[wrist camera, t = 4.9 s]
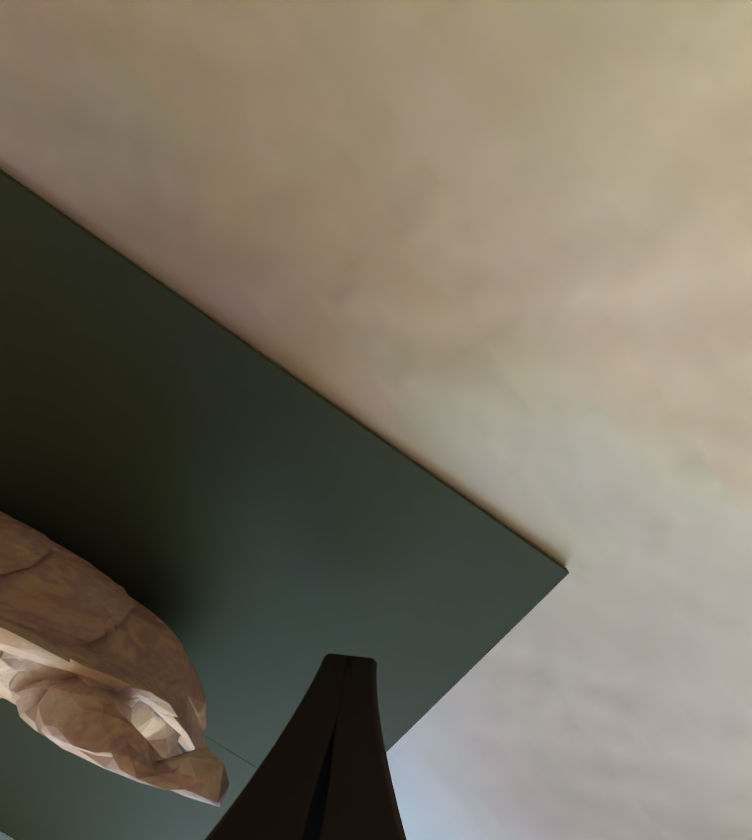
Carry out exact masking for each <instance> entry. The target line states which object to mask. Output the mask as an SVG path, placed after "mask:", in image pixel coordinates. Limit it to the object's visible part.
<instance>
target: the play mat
mask: <svg viewBox="0 0 752 840" xmlns="http://www.w3.org/2000/svg"><path fill="white" fill-rule="evenodd" d="M0 511H1V512H3V513H5V514H7V515H9V516H10V517H12V518H14V519H16V520H18V521H20V522H22V523H24V524H26V525H28V526H30V527H32V528H34V529H35V530H37V531H39V532H41V533H42V534H44V535H46V536H47V537H48V538H49V539H50V540H51V541H53V542H55V543H57V544H59V545H61V546H63V547H64V548H66V549H68V550H69V551H71V552H73V553H74V554H76V555H78V556H79V557H81V558H83V559H84V560H86V561H88V562H89V563H90V564H92V565H93V566H94V567H95V568H97V569H98V570H99V571H101V572H102V573H104V574H105V575H107V576H108V577H109V578H111V579H112V580H113V581H114V582H115V583H116V584H118V585H120V586H122V587H123V588H124V589H125V591H126V593H127V594H128V596H130V597H131V598H133V599H134V600H136V601H137V602H138V603H140V604H141V605H143V606H144V607H146V608H147V609H149V610H150V611H151V612H153V613H154V614H155V615H156V616H157V617H159V618H160V619H161V620H162V621H163V622H164V623H165V624H166V625H167V626H168V627H169V628H170V629H171V630H172V631H173V632H174V633H175V635H176V636H177V638H178V639H179V641H180V642H181V643H182V645H183V647H184V650H185V652H186V654H187V656H188V658H189V659H190V660H191V662H192V663H193V665H194V666H195V669H196V672H197V674H198V677H199V680H200V683H201V685H202V688H203V691H204V694H205V696H206V727H205V729H204V735H205V739H206V743H207V748H208V749H209V750H211V751H212V752H213V753H214V754H215V755H216V756H217V757H218V758H219V759H220V760H221V761H222V762H223V763H224V766H225V770H226V773H227V776H228V780H229V783H230V785H229V788H228V790H227V793H226V795H225V798H224V800H223V802H222V805H221V807H219V806H215V805H212V804H208V803H205V802H201V801H198V800H195V799H191V798H188V797H186V796H183V795H181V794H178V793H176V792H173V791H171V790H164V789H160V788H157V787H153V786H150V785H146V784H143V783H140V782H137V781H135V780H132V779H129V778H127V777H125V776H122V775H120V774H117V773H114V772H112V771H109V770H107V769H104V768H102V767H100V766H98V765H96V764H94V763H92V762H90V761H88V760H86V759H84V758H81V757H79V756H77V755H75V754H73V753H71V752H69V751H66V750H64V749H62V748H61V747H59V746H58V745H57V744H55V743H54V742H53V741H51V740H50V739H49V738H47V737H45V736H44V735H42V734H40V733H39V732H37V731H35V730H34V729H33V728H32V727H31V726H30V725H28V724H27V723H26V722H25V721H24V720H23V719H22V718H21V717H20V716H19V712H18V709H17V706H16V705H15V704H13V703H12V702H10V701H9V700H7V699H4V698H1V699H0V831H1V832H3V833H5V834H6V835H8V836H10V837H12V838H13V839H15V840H205V839H206V837H207V836H208V835H209V833H210V832H211V831H212V830H213V828H214V827H215V826H216V825H217V823H218V822H219V821H220V820H221V818H222V817H223V816H224V814H225V813H226V812H227V810H228V809H229V808H230V807H231V805H232V804H233V803H234V801H235V800H236V799H237V797H238V796H239V794H240V793H241V792H242V790H243V789H244V788H245V786H246V785H247V784H248V782H249V781H250V779H251V778H252V776H253V775H254V774H255V772H256V771H257V769H258V768H259V766H260V765H261V763H262V762H263V761H264V759H265V758H266V756H267V755H268V753H269V752H270V750H271V749H272V748H273V746H274V744H275V743H276V741H277V740H278V738H279V737H280V735H281V734H282V732H283V730H284V729H285V727H286V726H287V724H288V722H289V721H290V719H291V718H292V716H293V714H294V713H295V711H296V709H297V708H298V706H299V704H300V703H301V701H302V699H303V697H304V696H305V694H306V692H307V690H308V689H309V687H310V685H311V683H312V681H313V679H314V677H315V675H316V673H317V671H318V669H319V667H320V665H321V663H322V661H323V659H324V657H325V656H326V655H327V654H329V653H331V654H340V655H349V656H359V657H368V658H373V659H374V660H375V661H376V662H377V678H376V681H377V697H378V706H379V715H380V722H381V728H382V734H383V740H384V745H385V751H386V752H387V751H388V750H389V749H390V748H391V747H392V746H393V745H394V744H395V743H396V742H397V741H398V740H399V739H400V738H401V737H402V736H403V735H404V734H405V733H406V732H407V731H408V730H409V729H410V728H411V727H412V726H413V725H414V724H415V723H416V722H417V721H418V720H419V719H420V718H422V717H423V716H424V715H425V714H426V713H427V712H428V711H429V710H430V709H431V708H432V707H433V706H434V705H435V704H436V703H437V702H438V701H439V700H440V699H441V698H442V697H443V696H444V695H445V694H446V693H447V692H448V691H449V690H450V689H451V688H452V687H453V686H454V685H455V684H456V683H457V682H458V681H459V680H460V679H461V678H462V677H463V676H464V675H465V674H466V673H467V672H468V671H469V670H470V669H472V668H473V667H474V666H475V665H476V664H477V663H478V662H479V661H480V660H481V659H482V658H483V657H484V656H485V655H486V654H487V653H488V652H489V651H490V650H491V649H492V648H493V647H494V646H495V645H496V644H497V643H498V642H499V641H500V640H501V639H502V638H503V637H504V636H505V635H506V634H507V633H508V632H509V631H510V630H511V629H512V628H513V627H514V626H515V625H516V624H517V623H518V622H519V621H520V620H522V619H523V618H524V617H525V616H526V615H527V614H528V613H529V612H530V611H531V610H532V609H533V608H534V607H535V606H536V605H537V604H538V603H539V602H540V601H541V600H542V599H543V598H544V597H545V596H546V595H547V594H548V593H549V592H550V591H551V590H552V589H553V588H554V587H555V586H556V585H557V584H558V583H559V582H560V581H561V580H562V579H563V578H564V577H565V576H566V575H567V574H568V573H569V572H568V570H567V569H566V568H565V567H564V566H562V565H561V564H559V563H558V562H557V561H555V560H554V559H552V558H551V557H549V556H548V555H547V554H545V553H544V552H542V551H541V550H539V549H538V548H537V547H535V546H534V545H532V544H531V543H530V542H528V541H527V540H525V539H524V538H522V537H521V536H520V535H518V534H517V533H515V532H514V531H513V530H511V529H510V528H508V527H507V526H505V525H504V524H503V523H501V522H500V521H498V520H497V519H496V518H494V517H493V516H491V515H490V514H488V513H487V512H486V511H484V510H483V509H481V508H480V507H479V506H477V505H476V504H474V503H473V502H471V501H470V500H469V499H467V498H466V497H464V496H463V495H461V494H460V493H459V492H457V491H456V490H454V489H453V488H452V487H450V486H449V485H447V484H446V483H444V482H443V481H442V480H440V479H439V478H437V477H436V476H435V475H433V474H432V473H430V472H429V471H427V470H426V469H425V468H423V467H422V466H420V465H419V464H418V463H416V462H415V461H413V460H412V459H410V458H409V457H408V456H406V455H405V454H403V453H402V452H401V451H399V450H398V449H396V448H395V447H393V446H392V445H391V444H389V443H388V442H386V441H385V440H384V439H382V438H381V437H379V436H378V435H376V434H375V433H374V432H372V431H371V430H369V429H368V428H366V427H365V426H364V425H362V424H361V423H359V422H358V421H357V420H355V419H354V418H352V417H351V416H349V415H348V414H347V413H345V412H344V411H342V410H341V409H340V408H338V407H337V406H335V405H334V404H332V403H331V402H330V401H328V400H327V399H325V398H324V397H323V396H321V395H320V394H318V393H317V392H315V391H314V390H313V389H311V388H310V387H308V386H307V385H306V384H304V383H303V382H301V381H300V380H298V379H297V378H296V377H294V376H293V375H291V374H290V373H288V372H287V371H286V370H284V369H283V368H281V367H280V366H279V365H277V364H276V363H274V362H273V361H271V360H270V359H269V358H267V357H266V356H264V355H263V354H262V353H260V352H259V351H257V350H256V349H254V348H253V347H252V346H250V345H249V344H247V343H246V342H245V341H243V340H242V339H240V338H239V337H237V336H236V335H235V334H233V333H232V332H230V331H229V330H228V329H226V328H225V327H223V326H222V325H220V324H219V323H218V322H216V321H215V320H213V319H212V318H210V317H209V316H208V315H206V314H205V313H203V312H202V311H201V310H199V309H198V308H196V307H195V306H193V305H192V304H191V303H189V302H188V301H186V300H185V299H184V298H182V297H181V296H179V295H178V294H176V293H175V292H174V291H172V290H171V289H169V288H168V287H167V286H165V285H164V284H162V283H161V282H159V281H158V280H157V279H155V278H154V277H152V276H151V275H150V274H148V273H147V272H145V271H144V270H142V269H141V268H140V267H138V266H137V265H135V264H134V263H132V262H131V261H130V260H128V259H127V258H125V257H124V256H123V255H121V254H120V253H118V252H117V251H115V250H114V249H113V248H111V247H110V246H108V245H107V244H106V243H104V242H103V241H101V240H100V239H98V238H97V237H96V236H94V235H93V234H91V233H90V232H89V231H87V230H86V229H84V228H83V227H81V226H80V225H79V224H77V223H76V222H74V221H73V220H72V219H70V218H69V217H67V216H66V215H64V214H63V213H62V212H60V211H59V210H57V209H56V208H54V207H53V206H52V205H50V204H49V203H47V202H46V201H45V200H43V199H42V198H40V197H39V196H37V195H36V194H35V193H33V192H32V191H30V190H29V189H28V188H26V187H25V186H23V185H22V184H20V183H19V182H18V181H16V180H15V179H13V178H12V177H11V176H9V175H8V174H6V173H5V172H3V171H2V170H1V169H0ZM177 745H178V747H179V748H180V750H181V751H182V753H185V752H187V751H186V750H185V749H184V748H183V747H182V746H181V745H180V744H179V742H178V744H177Z"/></svg>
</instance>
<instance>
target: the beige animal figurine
mask: <svg viewBox="0 0 752 840" xmlns="http://www.w3.org/2000/svg"><path fill="white" fill-rule="evenodd" d="M1 698H4V699H7V700H9V701H10V702H12V703H13V704H15V705H16V706H17V709H18V712H19V716H20V717H21V718H22V719H23V720H24V721H25V722H26V723H27V724H28V725H30V726H31V727H32V728H33V729H34V730H35V731H37V732H39V733H40V734H42V735H44V736H45V737H47V738H49V739H50V740H51V741H53V742H54V743H55V744H57V745H58V746H59V747H61V748H62V749H64V750H66V751H69V752H71V753H73V754H75V755H77V756H79V757H81V758H84V759H86V760H88V761H90V762H92V763H94V764H96V765H98V766H100V767H102V768H104V769H107V770H109V771H112V772H114V773H117V774H120V775H122V776H125V777H127V778H129V779H132V780H135V781H137V782H140V783H143V784H146V785H150V786H153V787H157V788H160V789H164V790H171V791H173V792H176V793H178V794H181V795H183V796H186V797H188V798H191V799H195V800H198V801H201V802H205V803H208V804H212V805H215V806H219V807H221V805H222V802H223V800H224V798H225V795H226V793H227V790H228V788H229V785H230V783H229V780H228V776H227V773H226V770H225V766H224V763H223V762H222V761H221V760H220V759H219V758H218V757H217V756H216V755H215V754H214V753H213V752H212V751H211V750H209V749H208V748H207V743H206V739H205V735H204V729H205V727H206V696H205V694H204V691H203V688H202V685H201V683H200V680H199V677H198V674H197V672H196V669H195V666H194V665H193V663H192V662H191V660H190V659H189V658H188V656H187V654H186V652H185V650H184V647H183V645H182V643H181V642H180V641H179V639H178V638H177V636H176V635H175V633H174V632H173V631H172V630H171V629H170V628H169V627H168V626H167V625H166V624H165V623H164V622H163V621H162V620H161V619H160V618H159V617H157V616H156V615H155V614H154V613H153V612H151V611H150V610H149V609H147V608H146V607H144V606H143V605H141V604H140V603H138V602H137V601H136V600H134V599H133V598H131V597H130V596H128V594H127V593H126V591H125V589H124V588H123V587H122V586H120V585H118V584H116V583H115V582H114V581H113V580H112V579H111V578H109V577H108V576H107V575H105V574H104V573H102V572H101V571H99V570H98V569H97V568H95V567H94V566H93V565H92V564H90V563H89V562H88V561H86V560H84V559H83V558H81V557H79V556H78V555H76V554H74V553H73V552H71V551H69V550H68V549H66V548H64V547H63V546H61V545H59V544H57V543H55V542H53V541H51V540H50V539H49V538H48V537H47V536H46V535H44V534H42V533H41V532H39V531H37V530H35V529H34V528H32V527H30V526H28V525H26V524H24V523H22V522H20V521H18V520H16V519H14V518H12V517H10V516H9V515H7V514H5V513H3V512H1V511H0V699H1ZM178 742H179V744H180V745H181V746H182V747H183V748H184V749H185V750H186V751H187V752H185V753H182V751H181V750H180V748H179V747H178V745H177V744H178Z"/></svg>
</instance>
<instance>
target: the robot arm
mask: <svg viewBox="0 0 752 840" xmlns="http://www.w3.org/2000/svg"><path fill="white" fill-rule="evenodd" d="M376 678H377V662H376V661H375V660H374V659H373V658H368V657H359V656H349V655H340V654H331V653H329V654H327V655H326V656H325V657H324V659H323V661H322V663H321V665H320V667H319V669H318V671H317V673H316V675H315V677H314V679H313V681H312V683H311V685H310V687H309V689H308V690H307V692H306V694H305V696H304V697H303V699H302V701H301V703H300V704H299V706H298V708H297V709H296V711H295V713H294V714H293V716H292V718H291V719H290V721H289V722H288V724H287V726H286V727H285V729H284V730H283V732H282V734H281V735H280V737H279V738H278V740H277V741H276V743H275V744H274V746H273V748H272V749H271V750H270V752H269V753H268V755H267V756H266V758H265V759H264V761H263V762H262V763H261V765H260V766H259V768H258V769H257V771H256V772H255V774H254V775H253V776H252V778H251V779H250V781H249V782H248V784H247V785H246V786H245V788H244V789H243V790H242V792H241V793H240V794H239V796H238V797H237V799H236V800H235V801H234V803H233V804H232V805H231V807H230V808H229V809H228V810H227V812H226V813H225V814H224V816H223V817H222V818H221V820H220V821H219V822H218V823H217V825H216V826H215V827H214V828H213V830H212V831H211V832H210V833H209V835H208V836H207V837H206V839H205V840H406V837H405V833H404V829H403V825H402V821H401V818H400V814H399V810H398V806H397V801H396V797H395V793H394V789H393V785H392V780H391V776H390V771H389V766H388V761H387V756H386V751H385V745H384V740H383V734H382V728H381V722H380V715H379V706H378V697H377V681H376Z"/></svg>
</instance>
